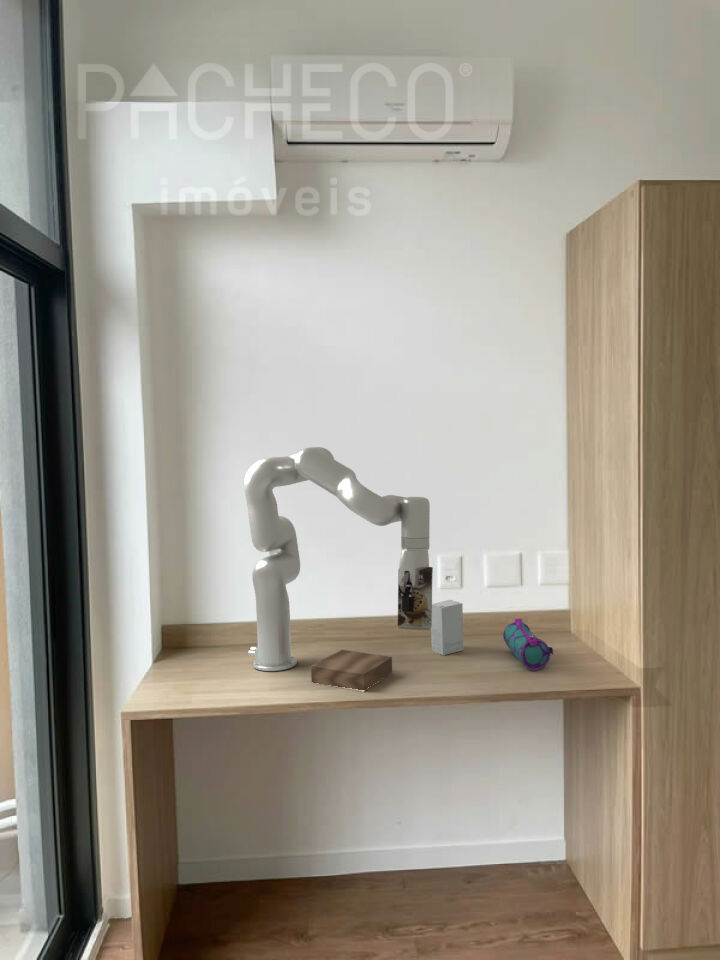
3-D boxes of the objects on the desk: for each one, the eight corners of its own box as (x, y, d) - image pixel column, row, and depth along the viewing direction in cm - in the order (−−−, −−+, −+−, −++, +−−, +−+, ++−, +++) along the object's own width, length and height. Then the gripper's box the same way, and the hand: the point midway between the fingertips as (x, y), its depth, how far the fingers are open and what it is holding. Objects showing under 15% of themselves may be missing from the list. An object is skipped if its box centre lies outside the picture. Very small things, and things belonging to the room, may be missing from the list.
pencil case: (553, 671, 193) (553, 636, 192) (521, 672, 192) (521, 638, 192) (530, 649, 214) (530, 617, 213) (501, 650, 213) (501, 619, 213)
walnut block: (311, 684, 188) (311, 665, 188) (342, 666, 202) (341, 649, 202) (363, 693, 181) (363, 674, 180) (392, 674, 194) (391, 656, 194)
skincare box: (451, 646, 218) (451, 599, 217) (464, 651, 213) (463, 602, 212) (430, 651, 213) (429, 602, 213) (442, 656, 208) (441, 606, 207)
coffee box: (397, 629, 187) (397, 569, 186) (399, 623, 194) (399, 565, 193) (431, 631, 186) (431, 570, 185) (432, 624, 192) (432, 565, 191)
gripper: (416, 538, 198) (416, 599, 199) (387, 546, 183) (387, 613, 184) (441, 540, 194) (440, 602, 195) (414, 549, 179) (413, 616, 180)
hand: (415, 607), depth 190 cm, fingers closed on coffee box, 8 cm apart
